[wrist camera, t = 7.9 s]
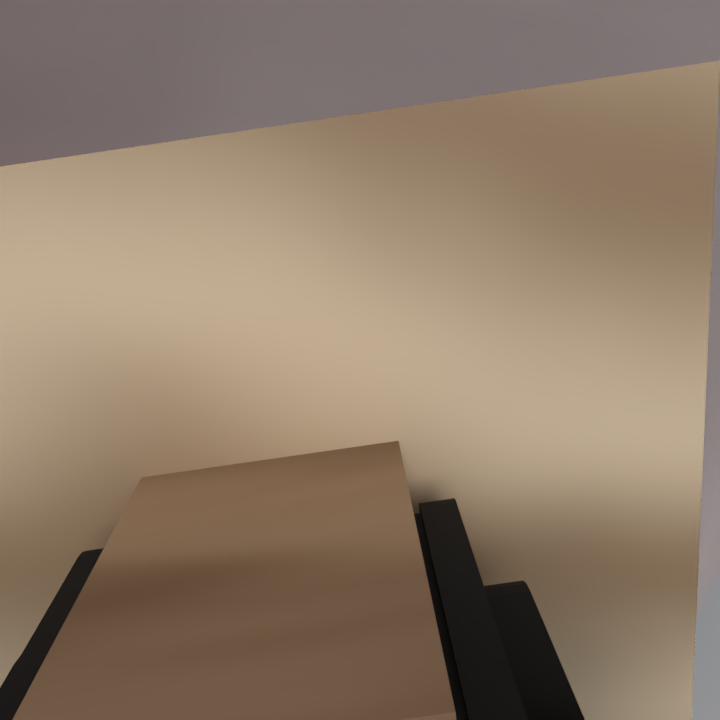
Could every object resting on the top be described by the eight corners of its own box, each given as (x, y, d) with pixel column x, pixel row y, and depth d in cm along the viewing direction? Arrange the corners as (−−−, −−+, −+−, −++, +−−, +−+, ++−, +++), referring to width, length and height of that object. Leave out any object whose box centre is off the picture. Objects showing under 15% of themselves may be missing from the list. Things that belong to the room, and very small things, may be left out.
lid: (668, 763, 14) (886, 1177, 8) (32, 851, 14) (-158, 1316, 9) (688, 65, 9) (1192, -14, 4) (-257, 204, 9) (-1065, 318, 4)
